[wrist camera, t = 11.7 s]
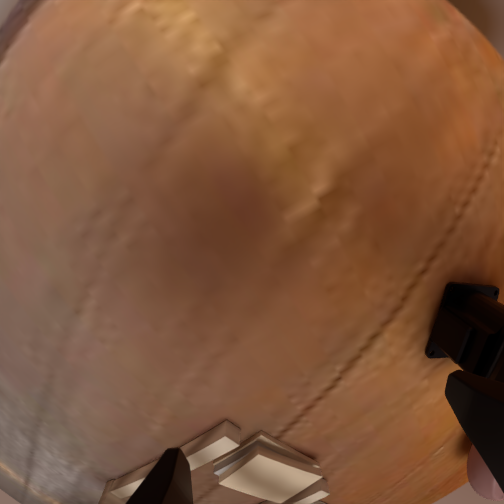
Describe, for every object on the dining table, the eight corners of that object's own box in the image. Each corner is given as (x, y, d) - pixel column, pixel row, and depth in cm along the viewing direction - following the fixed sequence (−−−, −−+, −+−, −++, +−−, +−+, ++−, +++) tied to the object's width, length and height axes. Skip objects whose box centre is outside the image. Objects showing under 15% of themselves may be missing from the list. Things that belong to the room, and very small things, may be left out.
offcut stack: (266, 424, 24) (267, 448, 21) (322, 457, 25) (328, 479, 22) (213, 457, 25) (210, 480, 22) (271, 485, 26) (272, 506, 23)
